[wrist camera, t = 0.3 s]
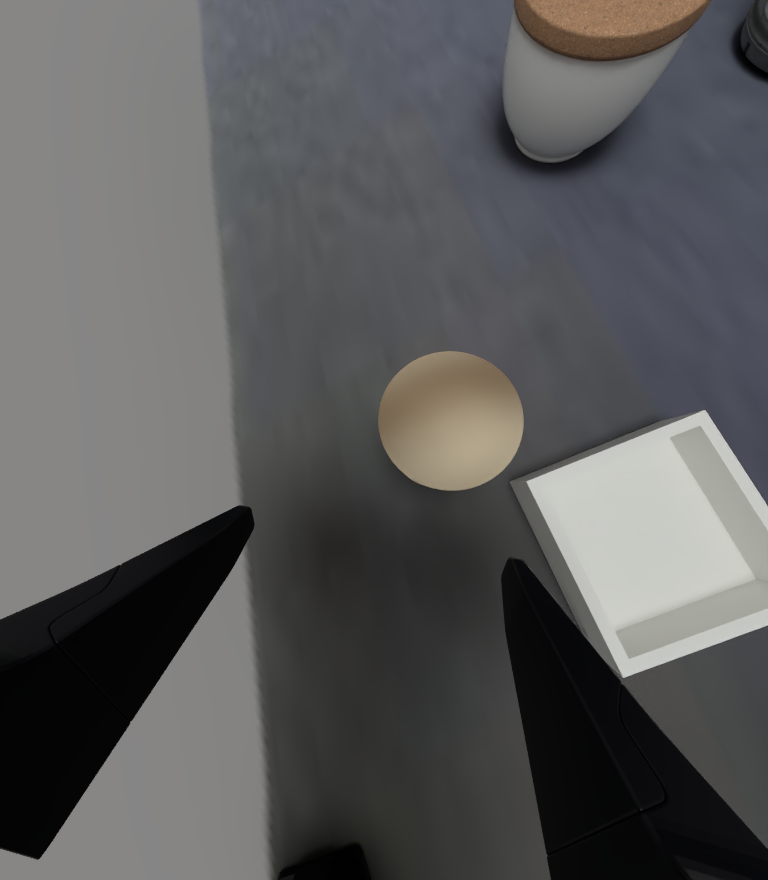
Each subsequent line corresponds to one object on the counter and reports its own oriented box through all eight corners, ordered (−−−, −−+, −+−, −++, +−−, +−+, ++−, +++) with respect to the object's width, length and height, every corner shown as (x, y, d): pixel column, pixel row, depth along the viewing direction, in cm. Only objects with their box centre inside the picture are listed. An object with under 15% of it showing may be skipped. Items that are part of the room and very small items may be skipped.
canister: (480, 470, 23) (550, 456, 11) (412, 497, 23) (410, 513, 11) (450, 405, 24) (484, 330, 12) (385, 432, 24) (358, 384, 12)
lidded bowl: (507, 72, 29) (564, -180, 18) (638, 89, 27) (793, -182, 16) (468, 173, 27) (504, -31, 16) (603, 199, 25) (746, -13, 14)
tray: (757, 581, 20) (830, 602, 16) (587, 644, 20) (623, 677, 17) (659, 421, 22) (704, 409, 18) (509, 481, 22) (526, 481, 19)
